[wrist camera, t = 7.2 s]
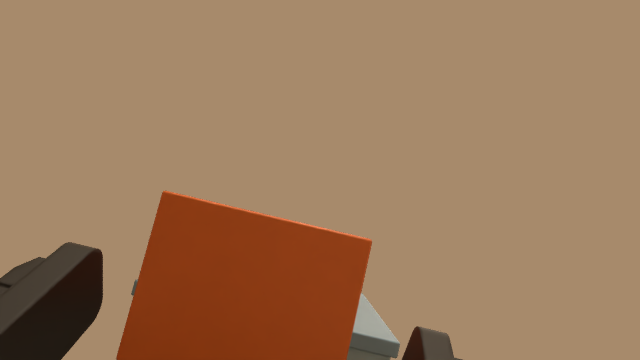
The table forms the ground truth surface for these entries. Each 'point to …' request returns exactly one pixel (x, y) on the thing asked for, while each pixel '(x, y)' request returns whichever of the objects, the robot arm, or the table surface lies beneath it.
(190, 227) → the orange rectangular bar
